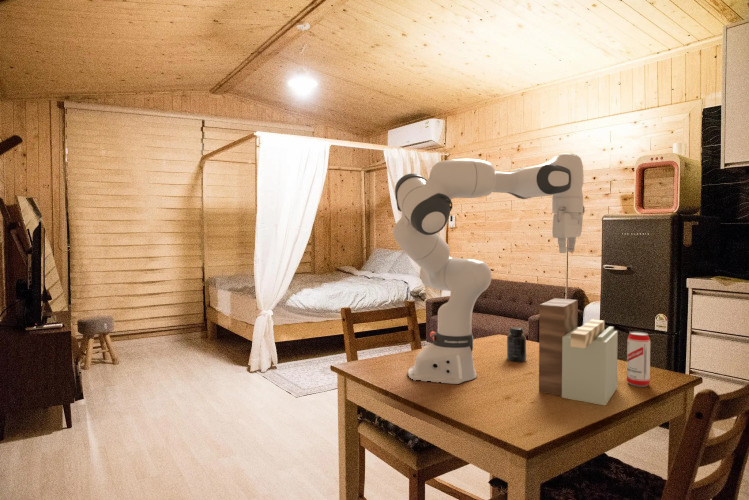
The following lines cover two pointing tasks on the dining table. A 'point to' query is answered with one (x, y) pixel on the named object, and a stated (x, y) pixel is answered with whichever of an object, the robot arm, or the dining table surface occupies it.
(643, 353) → the beer can
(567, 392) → the sage step
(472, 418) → the dining table surface
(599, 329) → the tan block
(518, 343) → the supplement bottle
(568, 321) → the walnut pedestal
